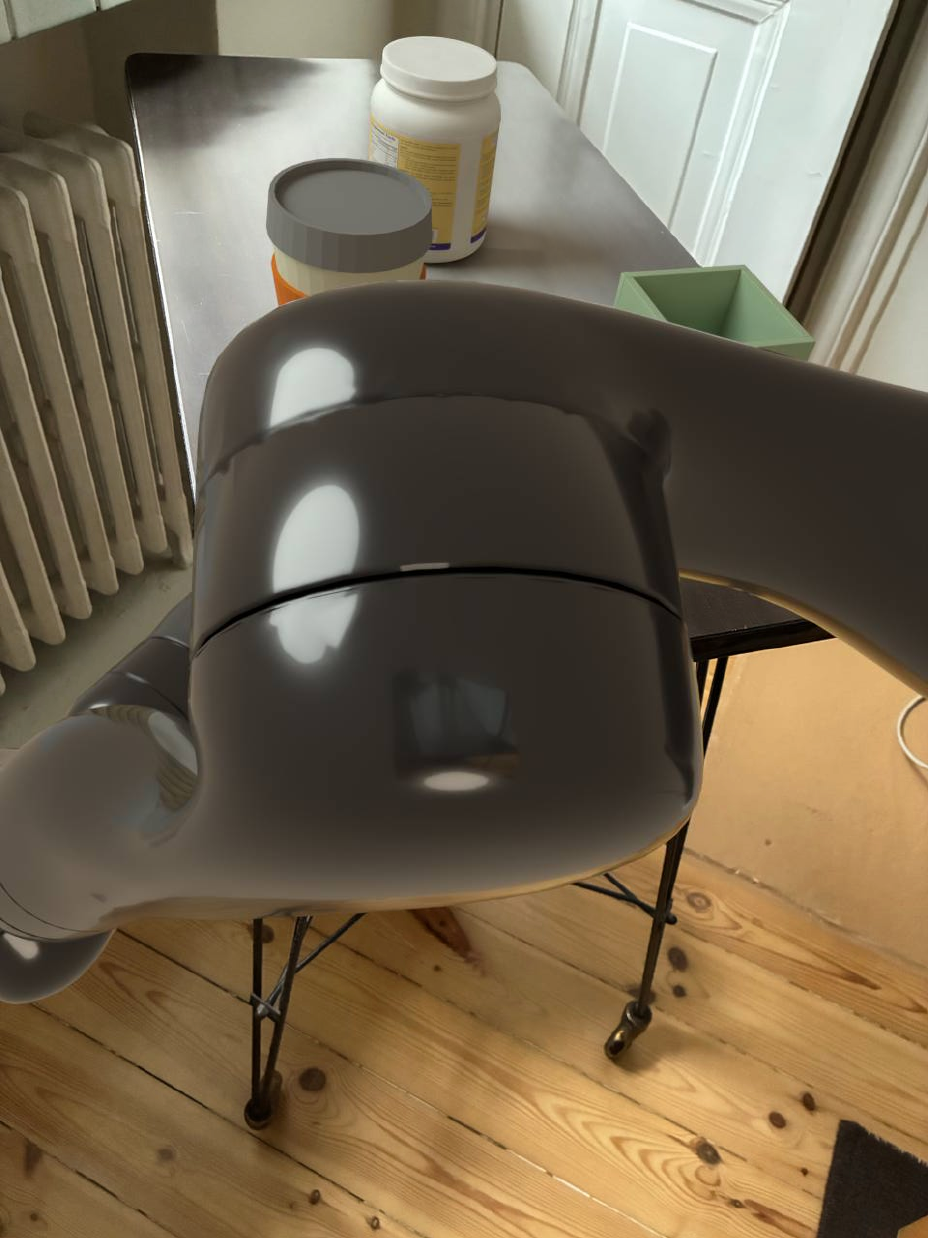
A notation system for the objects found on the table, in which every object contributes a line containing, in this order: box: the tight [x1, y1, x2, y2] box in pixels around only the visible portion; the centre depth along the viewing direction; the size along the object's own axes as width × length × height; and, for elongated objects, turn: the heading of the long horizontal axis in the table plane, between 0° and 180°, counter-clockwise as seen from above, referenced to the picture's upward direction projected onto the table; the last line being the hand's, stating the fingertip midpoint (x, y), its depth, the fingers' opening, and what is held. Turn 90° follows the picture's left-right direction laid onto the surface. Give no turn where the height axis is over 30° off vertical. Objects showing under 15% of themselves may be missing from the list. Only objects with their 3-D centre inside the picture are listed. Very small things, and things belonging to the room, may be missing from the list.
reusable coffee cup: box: [265, 157, 432, 307], centre depth 78 cm, size 13×13×15 cm
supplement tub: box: [368, 35, 502, 264], centre depth 94 cm, size 12×12×17 cm
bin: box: [612, 264, 816, 362], centre depth 85 cm, size 12×12×8 cm
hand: (422, 470), depth 62 cm, fingers closed on ink cartridge box, 6 cm apart
